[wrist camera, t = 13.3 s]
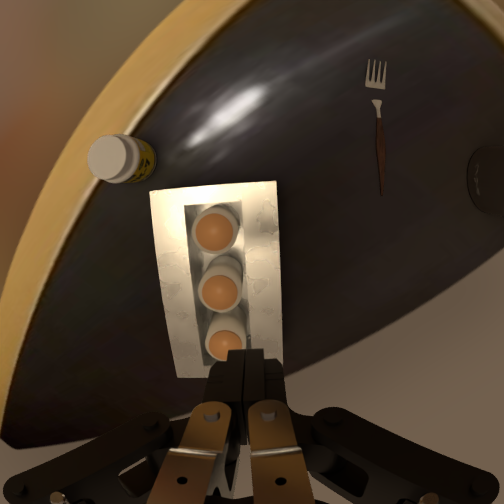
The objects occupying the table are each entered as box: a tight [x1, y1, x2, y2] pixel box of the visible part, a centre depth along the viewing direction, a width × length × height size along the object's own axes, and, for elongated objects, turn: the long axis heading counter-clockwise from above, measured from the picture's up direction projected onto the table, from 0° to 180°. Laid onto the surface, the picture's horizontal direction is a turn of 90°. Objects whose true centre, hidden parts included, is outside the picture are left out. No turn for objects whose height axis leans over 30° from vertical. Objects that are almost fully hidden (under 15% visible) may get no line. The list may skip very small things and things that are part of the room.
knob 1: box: [192, 204, 240, 254], centre depth 29 cm, size 4×4×6 cm
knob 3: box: [205, 306, 247, 361], centre depth 32 cm, size 4×4×6 cm
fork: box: [365, 59, 387, 196], centre depth 31 cm, size 3×16×2 cm, turn 2°
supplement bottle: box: [88, 134, 156, 183], centre depth 28 cm, size 5×5×8 cm
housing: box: [150, 181, 283, 378], centre depth 32 cm, size 12×19×7 cm, turn 3°
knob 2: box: [198, 256, 243, 312], centre depth 31 cm, size 4×4×6 cm
